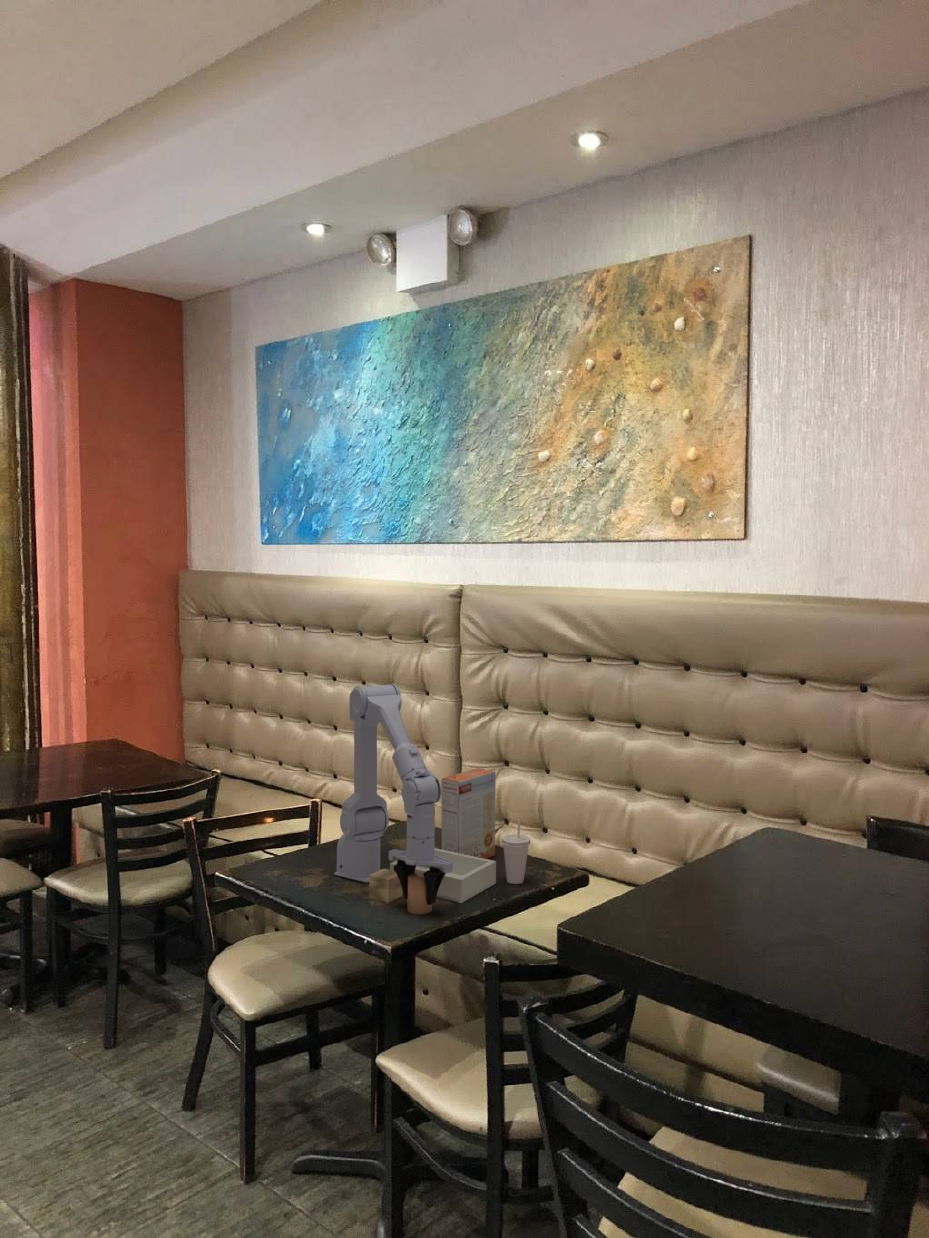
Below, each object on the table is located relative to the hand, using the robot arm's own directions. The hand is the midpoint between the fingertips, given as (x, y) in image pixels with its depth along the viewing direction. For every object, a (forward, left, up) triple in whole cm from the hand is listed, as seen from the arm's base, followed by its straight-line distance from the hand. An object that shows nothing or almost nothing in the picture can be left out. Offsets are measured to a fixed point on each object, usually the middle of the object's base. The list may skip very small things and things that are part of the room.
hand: (419, 900), depth 194 cm
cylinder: (0, 0, -2) cm, 2 cm away
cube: (-10, +2, -2) cm, 10 cm away
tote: (-4, +15, -2) cm, 16 cm away
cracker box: (-8, +32, -2) cm, 33 cm away
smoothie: (+8, +26, -2) cm, 27 cm away
